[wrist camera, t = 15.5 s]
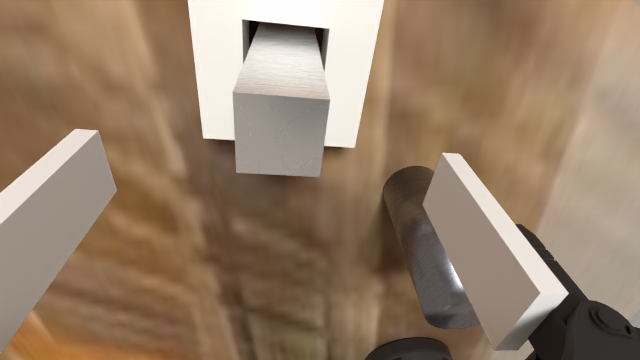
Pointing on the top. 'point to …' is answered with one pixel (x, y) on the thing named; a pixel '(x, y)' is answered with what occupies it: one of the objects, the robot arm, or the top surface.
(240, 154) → the square peg
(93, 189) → the robot arm
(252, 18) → the socket block
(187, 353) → the top surface
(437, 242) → the round peg
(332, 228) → the top surface
